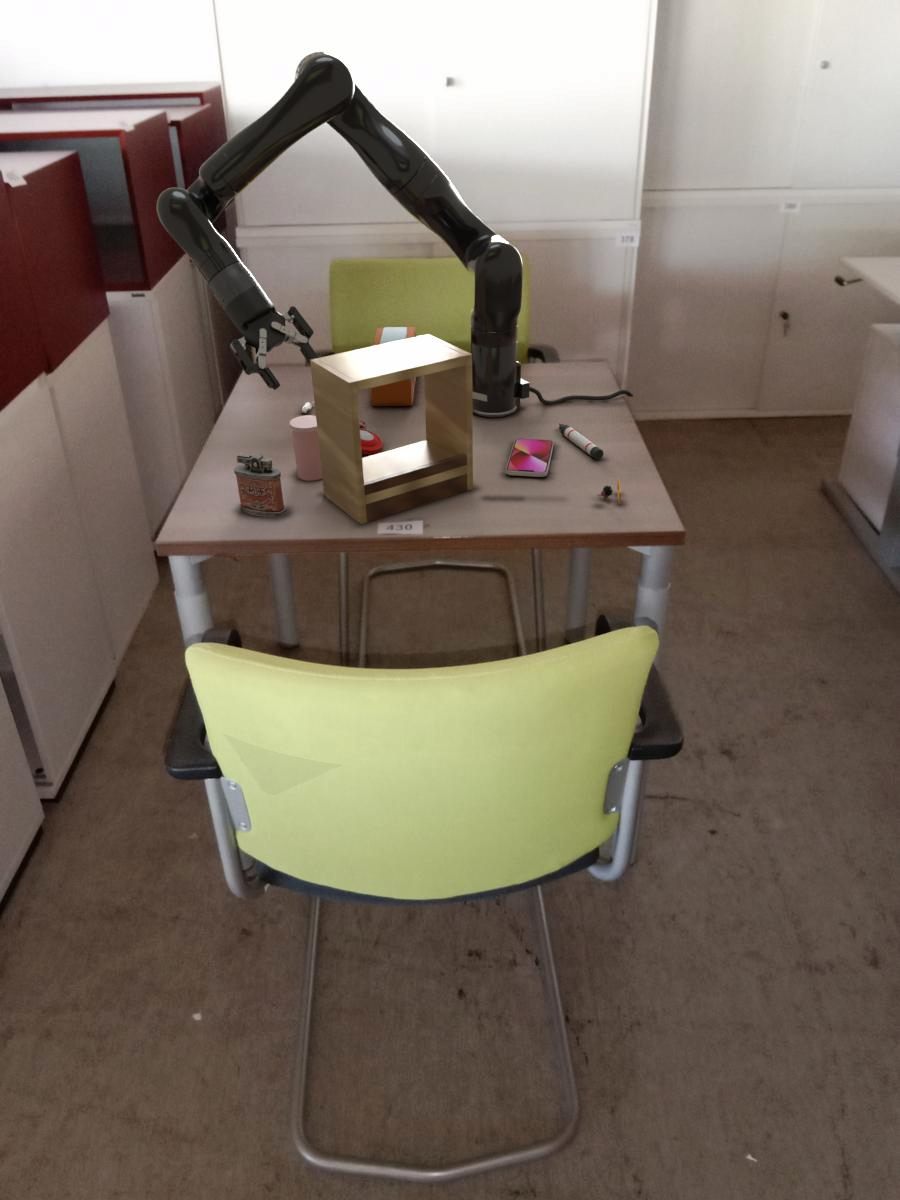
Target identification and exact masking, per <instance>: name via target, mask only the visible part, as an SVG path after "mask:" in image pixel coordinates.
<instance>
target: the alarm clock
mask: <svg viewBox="0 0 900 1200" xmlns="http://www.w3.org/2000/svg"><path fill="white" fill-rule="evenodd" d="M416 333H417V332H416V327H414V326H384V327H378V328H377V329H376V333H375V336H374V340H373V344H372V346H376V345H380V344H385V343H389V342H394V341H398V340H403V339H408V338H412V337H417V334H416ZM416 378H417V377H415V378H411V379H407V380H402V381H398V382H394V383H390V384H386V385H382V386H378V387H373V388H369V391H370V402H371V405H372V406H373V407H410V406H413V403H414V396H415V388H416V380H417V379H416Z"/></svg>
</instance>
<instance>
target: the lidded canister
mask: <svg viewBox="0 0 900 1200" xmlns="http://www.w3.org/2000/svg"><path fill="white" fill-rule="evenodd" d="M289 428H290V430H291V431H292V432H291V433H292V440H293V447H294V448H293V449H294V456H295V458H294V459H295V466H296V473H297V477H298V478H299V480H302V481H307V482H308V481H309V482H310V481H311V482H312V481H318V480H323V479H322V470H321V460H320V451H319V441H318V431H317V422H316V415H313V414H312V415H311V414H309V415H306V414H305V415H299V416H296V417H294V418H292V419H291V420H290V421H289Z"/></svg>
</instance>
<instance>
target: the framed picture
mask: <svg viewBox="0 0 900 1200" xmlns="http://www.w3.org/2000/svg"><path fill="white" fill-rule="evenodd" d="M616 490H617V498H618V500H617V501H618V505H621V498H622V497H621V496H622V490H621V482H620V477H618V478H617V487H616ZM613 492H614V491H613V489H612V487H611V485H604V486H603V488H602V490H601V492H600V493H599V494H597V496H598V497H603V499H608V498H609V497H611V496H613Z"/></svg>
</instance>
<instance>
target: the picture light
mask: <svg viewBox="0 0 900 1200" xmlns="http://www.w3.org/2000/svg"><path fill="white" fill-rule="evenodd" d="M313 404H315V403H314V401H312V402H309V401H306V402H305V403H304V405H303V406H302V408H301V412H302V413H303V414H307V413H308V411H309V410H311V409H312V408H313V406H312V405H313Z"/></svg>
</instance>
